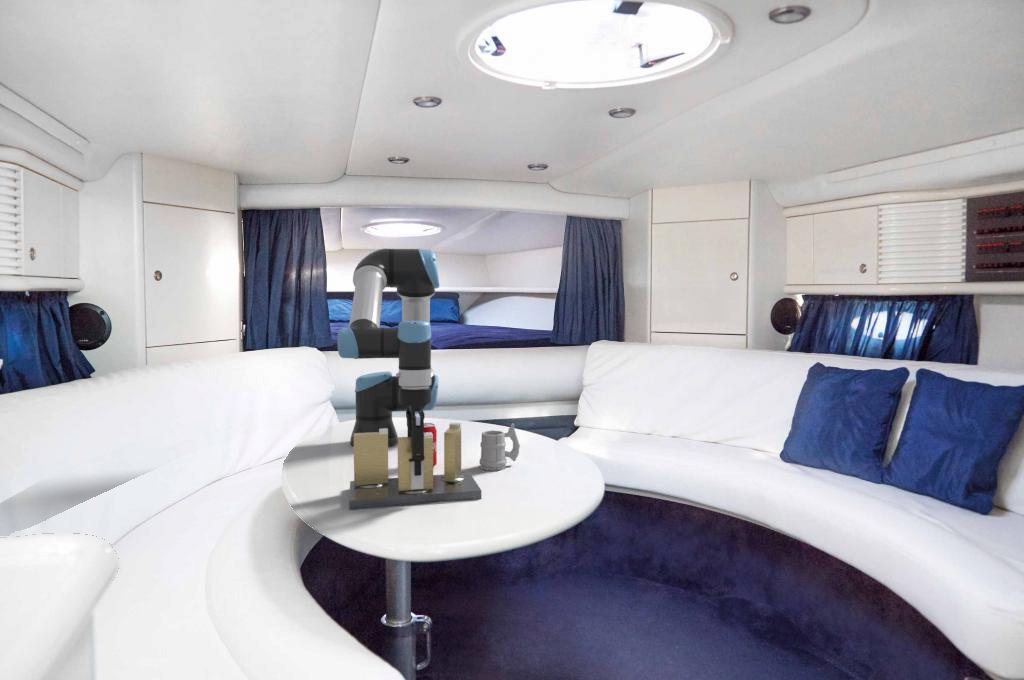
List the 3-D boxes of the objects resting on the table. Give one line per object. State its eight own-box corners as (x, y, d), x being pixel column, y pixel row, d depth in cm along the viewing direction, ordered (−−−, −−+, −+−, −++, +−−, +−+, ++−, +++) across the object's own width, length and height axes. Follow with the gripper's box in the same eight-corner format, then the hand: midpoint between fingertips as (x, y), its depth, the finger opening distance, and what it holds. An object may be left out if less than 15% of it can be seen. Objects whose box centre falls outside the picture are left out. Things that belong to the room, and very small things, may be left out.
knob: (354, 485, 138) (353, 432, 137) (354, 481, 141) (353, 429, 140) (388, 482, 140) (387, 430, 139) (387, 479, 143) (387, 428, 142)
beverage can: (432, 470, 160) (432, 427, 159) (411, 469, 161) (410, 426, 160) (439, 464, 166) (439, 423, 165) (419, 463, 167) (418, 422, 166)
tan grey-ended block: (398, 491, 134) (398, 436, 133) (398, 487, 137) (397, 433, 136) (433, 488, 136) (433, 434, 135) (431, 484, 139) (431, 432, 138)
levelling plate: (350, 489, 143) (350, 479, 143) (469, 480, 151) (469, 471, 151) (349, 509, 129) (349, 499, 129) (481, 498, 136) (481, 488, 136)
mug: (475, 465, 165) (475, 423, 164) (514, 461, 169) (514, 420, 169) (484, 472, 158) (484, 429, 157) (524, 468, 162) (524, 425, 162)
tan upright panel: (454, 481, 141) (454, 429, 141) (444, 481, 142) (443, 429, 141) (461, 472, 149) (461, 423, 149) (451, 471, 150) (451, 422, 149)
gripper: (395, 381, 144) (396, 471, 145) (401, 394, 124) (402, 498, 125) (426, 380, 146) (426, 469, 147) (436, 392, 126) (437, 495, 127)
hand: (415, 482), depth 136 cm, fingers open, 8 cm apart
